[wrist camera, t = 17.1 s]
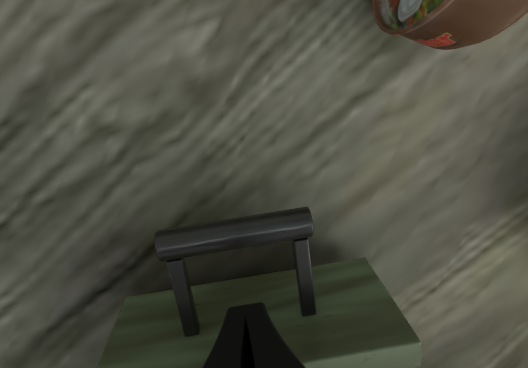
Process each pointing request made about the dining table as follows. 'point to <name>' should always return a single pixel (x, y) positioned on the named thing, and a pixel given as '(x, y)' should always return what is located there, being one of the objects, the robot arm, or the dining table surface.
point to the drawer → (272, 295)
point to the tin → (447, 20)
